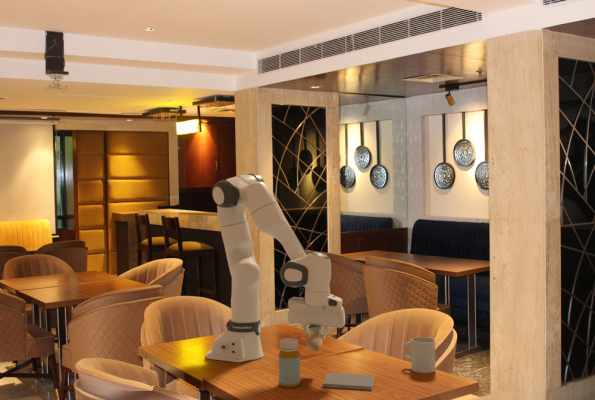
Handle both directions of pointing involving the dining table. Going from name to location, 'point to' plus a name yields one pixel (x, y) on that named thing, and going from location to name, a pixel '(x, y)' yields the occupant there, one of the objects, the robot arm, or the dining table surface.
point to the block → (314, 337)
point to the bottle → (289, 363)
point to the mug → (421, 354)
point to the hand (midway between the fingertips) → (315, 337)
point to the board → (349, 381)
